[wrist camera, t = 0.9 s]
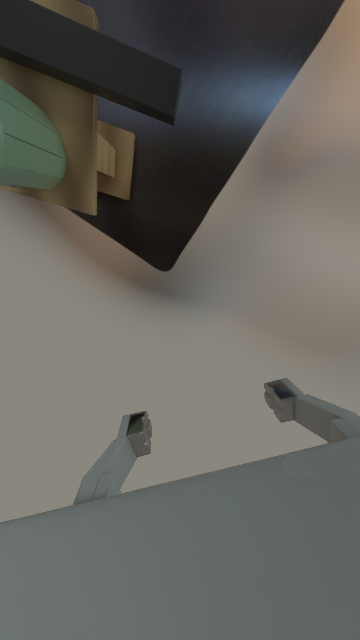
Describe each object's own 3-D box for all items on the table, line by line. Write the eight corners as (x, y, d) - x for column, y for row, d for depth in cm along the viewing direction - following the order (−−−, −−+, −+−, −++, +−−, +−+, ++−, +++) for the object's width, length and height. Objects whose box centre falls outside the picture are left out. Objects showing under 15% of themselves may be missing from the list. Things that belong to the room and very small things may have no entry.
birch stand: (75, 193, 43) (-27, 180, 21) (70, 97, 35) (-105, -86, 13) (132, 210, 45) (93, 215, 24) (141, 124, 37) (93, 8, 15)
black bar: (-65, 31, 16) (-100, 5, 14) (-83, -32, 14) (-126, -72, 12) (174, 126, 19) (174, 117, 17) (181, 84, 18) (182, 69, 16)
